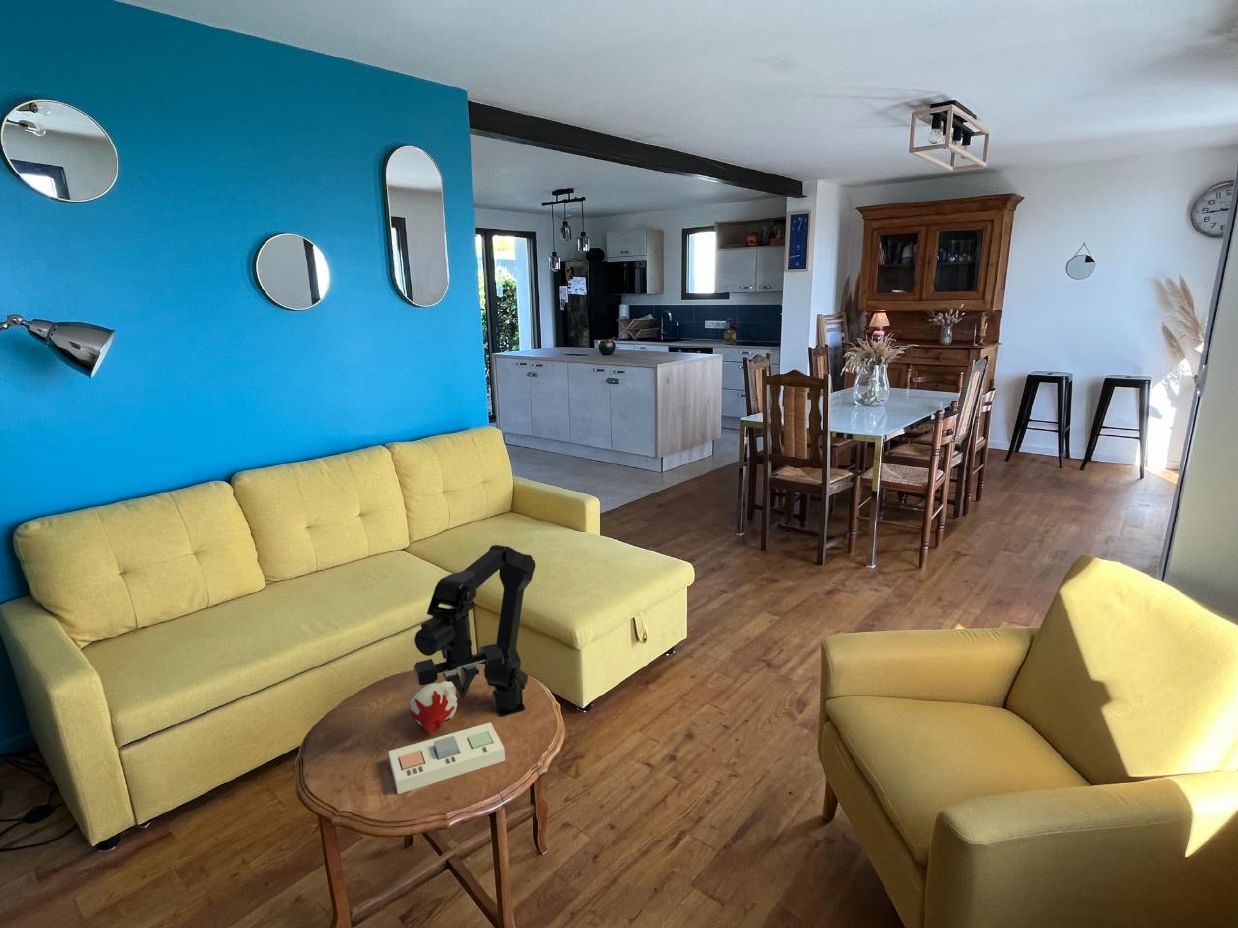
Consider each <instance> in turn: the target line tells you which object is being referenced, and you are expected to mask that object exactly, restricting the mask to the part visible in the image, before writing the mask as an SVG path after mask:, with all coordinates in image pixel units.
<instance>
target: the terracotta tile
mask: <svg viewBox="0 0 1238 928" xmlns="http://www.w3.org/2000/svg"><path fill="white" fill-rule="evenodd" d="M399 758H400V766H401V769H402V771H403V770H406V769H409V768H413V767H416V766H419V765H423V764H424V761H423V758H422V755H421V752H420V751H416V752H413V753H409V754H406V755H403V756H399Z"/></svg>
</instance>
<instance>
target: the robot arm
mask: <svg viewBox="0 0 1238 928" xmlns="http://www.w3.org/2000/svg"><path fill="white" fill-rule="evenodd" d="M535 569H536V561H535V560H534V558H533V556H532V555H531V554H525V553H521V552H519V551H517V550H515V549H513V548H512V547H510V546H506V545H501V544H500V545H499V544H493V545H491V546H490V548H489V549H488V551H486V552H485V553H484V554H483V555H482V556H480V557H479V558H477V560H475V561H474V562H473V563H471V564H470V565H469V566H468V567H466V568H465V569H464V570H462V571H458V572H456V573H451V574H448V575H446V576H445V577H442V578H441V579H439V580H438V582H437V584H436V585H435V587H434V591H433V594H432V597H431V599H430V602H429V606H428V609H427V611H426V615H428V616H432V618H430V619H428V620H426V621H423V622H422V623H421V624H420V629H419V630H417V632H416V633H415V636H414V638H413V639H414V640H413V642H414V645H415V647H416V649H417V650H418V651H419V653H421V654H422V655H424V656H427V657H430V656H433V655H434V654H436V653H437V652H440V653H441V655H442V658H443V659H444V660H445V661H443V662H439V663H434V661H433V659H432V658H430V659H426V660H423V661H418V662H416V663H414V665H413V673H414V676H415V679H416V682H417V683H418V685H419V686H427V685H430V684H434V683H436V681H437V680H438V679H439V676H438V675H439V674H442V675H443V678H444V681H447V682H452V683H453V685H454V686H455V688H456V693H457V694H458V697H459V699H460V700H464V699H466V696H467V694H468V691H469V688H470V686H471V684H472V682H473V680H474V679H475V676H476V675H479V674H480V670H479V668H478V664H479V663H485V664H484V669H483V674H484V675H483V677H484V679H485V681H486V682H487V686H490V687H493V689H494V690H493V691H492V694H491V695H492V704H493V705H492V706H493V708H494V709H495V711H496V712H497V713H498V715H499V716H500V717H504V716H507V715H511V714H515V713H517V712H521V711H525V710H526V706H525V705H524V702H523V701H524V700H523V699H524V698H523V690H525V689H526V685H527V684H528V680H529V678H528V677H529V675H528V674H527V673H525V672H524V671H522V670H521V666H522V662H521V661H522V659H521V658H520V656H519V653H518V650H517V642H518V638H519V637H518V636H519V630H520V624H521V623H520V621H521V614H522V608H523V607H522V606H523V600H524V593H525V589H526V588H527V587H528V586H529V584H530V583H532V580H533V576H534V572H535ZM497 572H498V573H499V574H498V576H499V579H500V582H501V584H502V586H503V594H502V601H501V608H500V612H499V613H500V614H499V615H500V616H499V622H498V628H497V636H496V643H492V644H488V645H487V644H486V645H484V646H480V647H479V653H475V654H473V650H472V646H473V642H472V636H471V623H470V611H472V610H473V609H474V608H475V604H474V603H472V601H473V600H474V599H475V597H477V591H478V588H480V587H481V586H482V585H483V584H484V583H485V582H486V581H487V580H489V579H490V578H491V577H492V576H493V575H494V574H495V573H497ZM440 605H443V606H447V607H449V608H446V607H441V606H440ZM458 669H460V674H459V673H458Z"/></svg>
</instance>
